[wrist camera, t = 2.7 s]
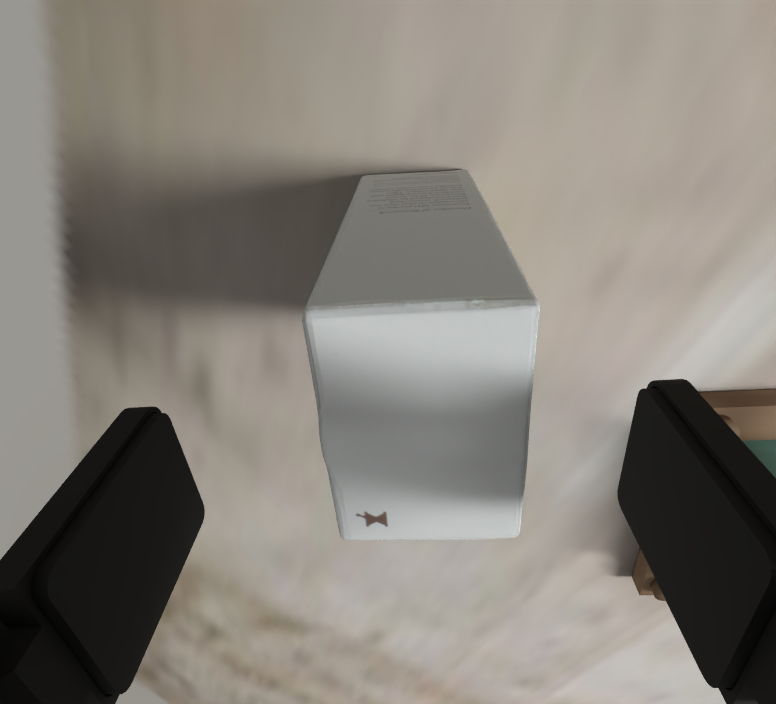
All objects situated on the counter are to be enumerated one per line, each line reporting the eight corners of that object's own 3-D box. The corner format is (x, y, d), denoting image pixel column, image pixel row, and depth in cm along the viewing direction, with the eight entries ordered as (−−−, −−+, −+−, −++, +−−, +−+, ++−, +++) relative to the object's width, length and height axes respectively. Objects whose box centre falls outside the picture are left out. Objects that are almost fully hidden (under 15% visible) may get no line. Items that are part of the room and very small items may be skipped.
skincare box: (470, 309, 21) (522, 547, 11) (372, 313, 21) (334, 548, 11) (473, 162, 18) (550, 301, 8) (358, 169, 18) (287, 312, 8)
